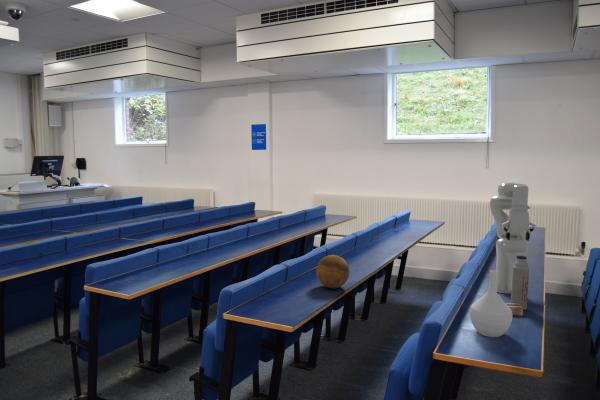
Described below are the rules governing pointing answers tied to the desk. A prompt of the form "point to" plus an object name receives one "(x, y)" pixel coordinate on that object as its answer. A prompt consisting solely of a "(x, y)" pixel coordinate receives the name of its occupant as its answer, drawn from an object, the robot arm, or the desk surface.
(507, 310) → the vase
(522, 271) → the thermos bottle
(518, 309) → the rail
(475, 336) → the desk surface
